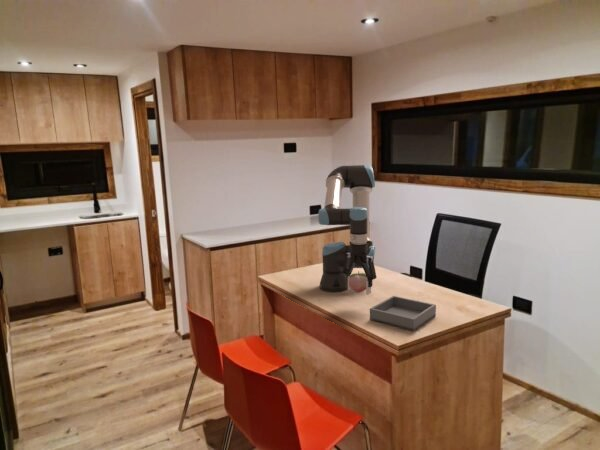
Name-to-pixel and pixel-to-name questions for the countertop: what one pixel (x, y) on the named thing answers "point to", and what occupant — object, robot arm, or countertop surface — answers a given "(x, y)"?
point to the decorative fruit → (358, 282)
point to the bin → (403, 313)
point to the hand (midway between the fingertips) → (359, 291)
